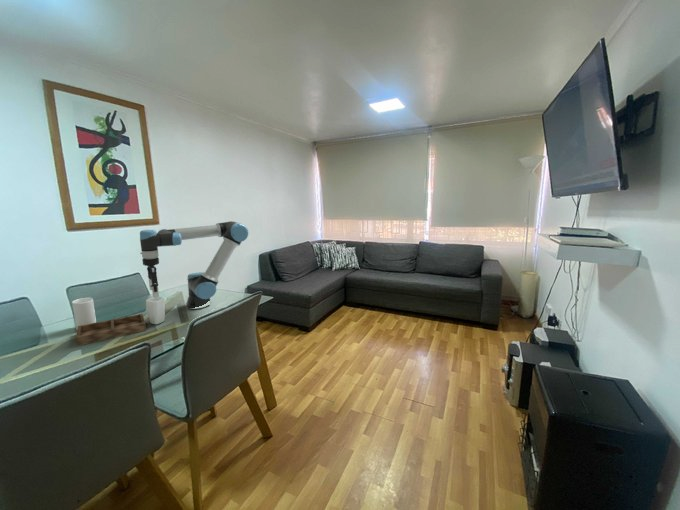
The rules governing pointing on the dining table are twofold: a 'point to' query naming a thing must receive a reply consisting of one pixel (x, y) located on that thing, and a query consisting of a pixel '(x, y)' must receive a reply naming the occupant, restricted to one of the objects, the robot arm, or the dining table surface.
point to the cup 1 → (84, 311)
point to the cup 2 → (156, 310)
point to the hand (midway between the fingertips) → (154, 293)
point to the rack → (109, 329)
